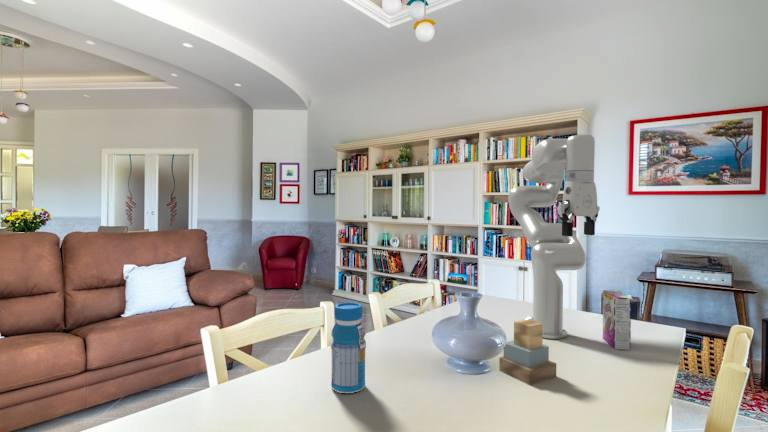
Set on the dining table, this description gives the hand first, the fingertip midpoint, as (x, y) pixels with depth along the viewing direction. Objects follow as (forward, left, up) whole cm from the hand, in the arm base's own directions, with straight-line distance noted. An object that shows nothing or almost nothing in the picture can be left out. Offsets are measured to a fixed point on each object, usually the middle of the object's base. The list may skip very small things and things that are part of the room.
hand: (578, 235), depth 120 cm
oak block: (+3, -24, -28) cm, 37 cm away
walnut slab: (+3, -24, -36) cm, 43 cm away
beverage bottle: (-12, -69, -36) cm, 78 cm away
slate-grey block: (+2, -24, -32) cm, 40 cm away
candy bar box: (0, +19, -36) cm, 41 cm away
